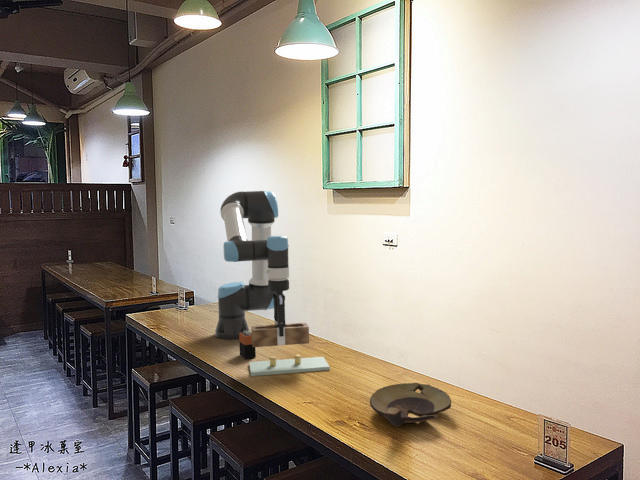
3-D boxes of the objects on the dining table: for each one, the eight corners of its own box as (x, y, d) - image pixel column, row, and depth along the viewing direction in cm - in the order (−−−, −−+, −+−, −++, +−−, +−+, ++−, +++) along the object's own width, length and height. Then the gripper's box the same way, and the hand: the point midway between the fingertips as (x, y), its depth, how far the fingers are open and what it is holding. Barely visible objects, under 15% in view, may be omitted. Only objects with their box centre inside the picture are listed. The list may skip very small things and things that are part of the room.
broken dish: (468, 414, 151) (468, 387, 151) (399, 448, 132) (399, 418, 131) (406, 392, 168) (406, 369, 167) (337, 420, 148) (336, 394, 148)
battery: (245, 359, 204) (244, 334, 203) (239, 355, 210) (238, 330, 209) (256, 357, 206) (255, 332, 205) (249, 353, 212) (249, 328, 211)
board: (251, 376, 186) (250, 364, 185) (249, 365, 197) (248, 354, 197) (329, 369, 191) (329, 358, 190) (323, 359, 202) (323, 348, 202)
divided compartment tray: (253, 347, 187) (252, 330, 187) (251, 342, 194) (251, 326, 193) (309, 343, 191) (308, 326, 190) (306, 338, 198) (305, 322, 197)
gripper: (265, 275, 200) (267, 336, 201) (270, 283, 180) (272, 350, 182) (285, 274, 201) (287, 334, 203) (292, 282, 181) (294, 348, 183)
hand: (280, 342), depth 192 cm, fingers closed on divided compartment tray, 7 cm apart
